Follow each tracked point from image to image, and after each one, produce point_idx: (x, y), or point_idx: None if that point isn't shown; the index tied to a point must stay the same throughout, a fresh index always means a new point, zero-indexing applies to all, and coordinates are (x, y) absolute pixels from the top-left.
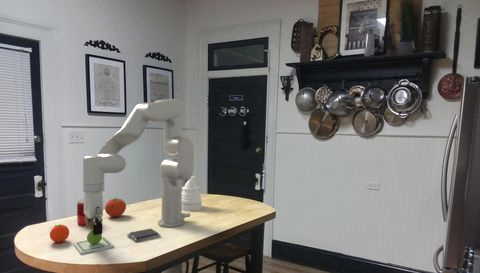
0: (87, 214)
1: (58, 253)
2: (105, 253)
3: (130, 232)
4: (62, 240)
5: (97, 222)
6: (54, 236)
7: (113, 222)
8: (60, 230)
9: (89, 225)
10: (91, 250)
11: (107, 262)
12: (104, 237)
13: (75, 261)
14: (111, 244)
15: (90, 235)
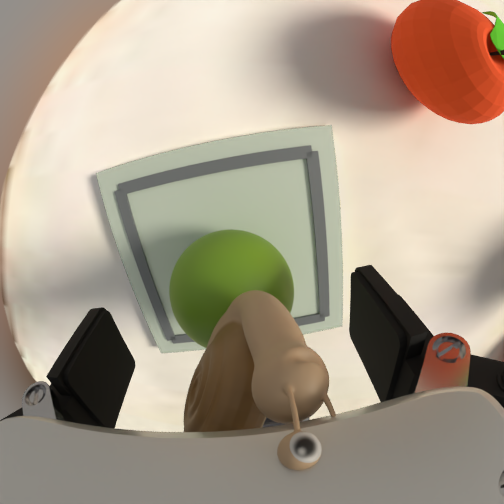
0: (70, 483)
1: (190, 33)
2: (91, 298)
3: (301, 421)
4: (397, 68)
5: (14, 415)
6: (405, 10)
7: (493, 338)
8: (438, 36)
9: (241, 327)
10: (114, 238)
11: (11, 288)
12: (330, 323)
13: (31, 153)
14: (180, 345)
15: (184, 275)
